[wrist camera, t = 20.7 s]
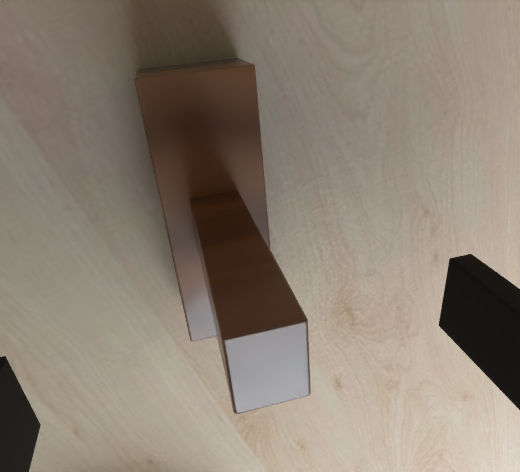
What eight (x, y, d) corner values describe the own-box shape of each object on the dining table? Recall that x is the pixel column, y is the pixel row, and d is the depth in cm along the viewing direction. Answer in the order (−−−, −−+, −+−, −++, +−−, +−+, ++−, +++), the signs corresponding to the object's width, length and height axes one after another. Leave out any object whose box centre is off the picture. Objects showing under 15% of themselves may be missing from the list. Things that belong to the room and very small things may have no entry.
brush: (136, 69, 20) (119, 137, 8) (239, 58, 21) (358, 104, 9) (185, 305, 26) (215, 531, 15) (262, 289, 27) (348, 490, 16)
